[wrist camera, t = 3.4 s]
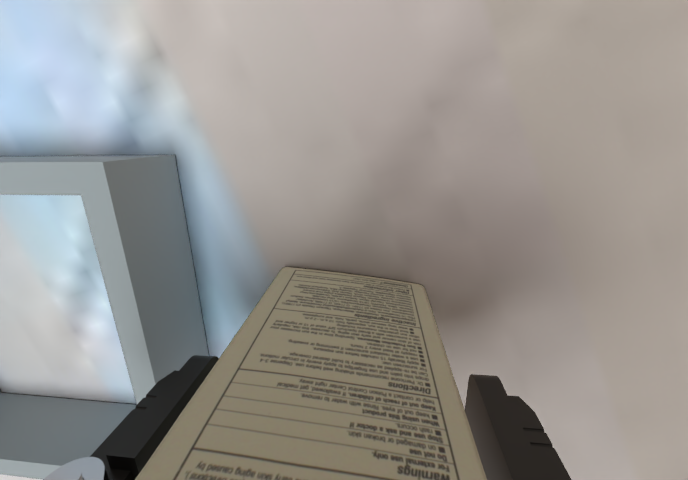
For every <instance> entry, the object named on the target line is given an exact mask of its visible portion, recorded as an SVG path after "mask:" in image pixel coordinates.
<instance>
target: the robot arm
mask: <svg viewBox="0 0 688 480" xmlns="http://www.w3.org/2000/svg"><path fill="white" fill-rule="evenodd" d="M218 360H219V359H218V357H216V356H201V355H194V356H192V357H191V358H190V359H189V360H188V361H187V362H186V363H185V364H184V365H183V367H182V368H181V369H180V370H179V371H176V370H175V371H173V372H172V373H170V374H169V375H167V376H166V377H164V378H163V379H161V380H160V381H158V382H157V383H156V384H155V386H154V387H153V388H152V389H151V390H150V391H149V392H148V393H147V394H146V397H145V398H143V399H142V400H141V401H140V402H139V403H138V404H137V405H136V408H135V409H133V410H132V411H131V412H130V413H129V414H128V415H127V416H126V417H125V418H124V420H123V421H122V422H121V423H120V424H119V425H118V426H117V427H116V428H115V429H114V431H113V432H112V433H111V434H110V435H109V436H108V437H107V438H106V439H105V440H104V441H103V443H102V444H101V445H100V446H99V447H98V448H97V449H96V450H95V451H94V452H93V454H92V455H91V456H90V457H83V458H79V459H76V460H73V461H71V462H69V463H66V464H64V465H63V466H61V467H59V468H58V469H56V470H54V471H53V472H52V473H50V474H49V475H48V476H47V477H45V478H44V479H43V480H135V479H136V477H137V476H138V474H139V473H140V472H141V470H142V469H143V468H144V466H145V465H146V463H147V462H148V460H149V459H150V458H151V456H152V455H153V453H154V452H155V450H156V449H157V447H158V446H159V445H160V443H161V442H162V440H163V439H164V437H165V436H166V434H167V433H168V432H169V430H170V429H171V427H172V426H173V424H174V423H175V421H176V420H177V418H178V417H179V415H180V414H181V412H182V411H183V410H184V408H185V407H186V405H187V404H188V402H189V401H190V400H191V398H192V397H193V395H194V394H195V392H196V391H197V390H198V388H199V387H200V385H201V384H202V383H203V381H204V380H205V378H206V377H207V375H208V374H209V372H210V371H211V370H212V368H213V367H214V365H215V364H216V362H217V361H218ZM465 413H466V416H467V419H468V422H469V425H470V428H471V432H472V435H473V438H474V441H475V444H476V447H477V450H478V454H479V457H480V460H481V463H482V466H483V469H484V472H485V475H486V478H487V480H571V478H570V476H569V475H568V473H567V471H566V469H565V467H564V465H563V463H562V462H561V460H560V458H559V456H558V454H557V452H556V451H555V449H554V448H553V447H552V443H551V441H550V440H549V438H548V436H547V434H546V433H544V429H543V427H542V425H541V423H540V421H539V419H538V418H537V416H536V414H535V412H534V411H533V410H532V409H531V408H530V407H529V406H528V405H527V404H526V403H525V402H524V401H523V400H522V399H521V398H520V397H519V396H507V394H506V391H505V389H504V387H503V385H502V383H501V381H500V379H499V378H498V377H497V376H488V375H473V374H471V375H470V377H469V382H468V390H467V397H466V405H465Z"/></svg>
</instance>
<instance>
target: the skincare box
mask: <svg viewBox="0 0 688 480" xmlns="http://www.w3.org/2000/svg"><path fill="white" fill-rule="evenodd" d="M135 480H487V478H486V475H485V472H484V469H483V466H482V463H481V460H480V457H479V454H478V450H477V447H476V444H475V441H474V438H473V435H472V432H471V428H470V425H469V422H468V419H467V416H466V413H465V410H464V407H463V404H462V401H461V398H460V395H459V392H458V389H457V386H456V383H455V380H454V377H453V374H452V371H451V368H450V365H449V361H448V358H447V355H446V352H445V349H444V346H443V343H442V340H441V337H440V334H439V330H438V327H437V324H436V321H435V318H434V315H433V312H432V309H431V306H430V303H429V300H428V297H427V294H426V291H425V288H424V287H423V286H422V285H419V284H414V283H408V282H402V281H395V280H390V279H383V278H376V277H369V276H361V275H354V274H346V273H338V272H329V271H321V270H312V269H302V268H292V267H284V268H282V269H281V270H280V272H279V273H278V275H277V276H276V278H275V279H274V280H273V282H272V283H271V285H270V286H269V287H268V289H267V290H266V292H265V293H264V295H263V296H262V298H261V299H260V301H259V302H258V304H257V305H256V306H255V308H254V309H253V311H252V312H251V313H250V315H249V316H248V318H247V319H246V321H245V322H244V323H243V325H242V327H241V328H240V329H239V331H238V332H237V333H236V335H235V336H234V338H233V339H232V341H231V342H230V344H229V345H228V346H227V348H226V349H225V351H224V352H223V354H222V355H221V357H220V358H219V360H218V361H217V362H216V364H215V365H214V367H213V368H212V370H211V371H210V372H209V374H208V375H207V377H206V378H205V380H204V381H203V383H202V384H201V385H200V387H199V388H198V390H197V391H196V392H195V394H194V395H193V397H192V398H191V400H190V401H189V402H188V404H187V405H186V407H185V408H184V410H183V411H182V412H181V414H180V415H179V417H178V418H177V420H176V421H175V423H174V424H173V426H172V427H171V429H170V430H169V432H168V433H167V434H166V436H165V437H164V439H163V440H162V442H161V443H160V445H159V446H158V447H157V449H156V450H155V452H154V453H153V455H152V456H151V458H150V459H149V460H148V462H147V463H146V465H145V466H144V468H143V469H142V470H141V472H140V473H139V474H138V476H137V477H136V479H135Z"/></svg>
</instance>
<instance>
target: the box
mask: <svg viewBox="0 0 688 480" xmlns="http://www.w3.org/2000/svg"><path fill="white" fill-rule="evenodd" d="M0 195H81V197H82V201H83V204H84V208H85V212H86V216H87V219H88V223H89V227H90V231H91V234H92V238H93V242H94V246H95V249H96V253H97V257H98V261H99V264H100V268H101V272H102V276H103V279H104V283H105V287H106V291H107V294H108V298H109V302H110V306H111V309H112V313H113V317H114V321H115V324H116V328H117V332H118V336H119V339H120V343H121V347H122V351H123V354H124V358H125V362H126V366H127V369H128V373H129V377H130V381H131V384H132V388H133V392H134V396H135V399H136V403H137V404H138V403H139V402H140V401H141V400H142V399H143V398H145V397H146V394H147V393H148V392H149V391H150V390H151V389H152V388H153V387H154V386H155V384H156V383H157V382H158V381H160V380H161V379H163V378H164V377H166V376H167V375H169V374H170V373H172V372H173V371H175V370H176V371H179V370H180V369H181V368H182V367H183V365H184V364H185V363H186V362H187V361H188V360H189V359H190V358H191V357H192V356H194V355H201V356H209V353H208V347H207V342H206V336H205V330H204V324H203V318H202V312H201V306H200V300H199V295H198V289H197V283H196V277H195V271H194V265H193V259H192V253H191V247H190V242H189V236H188V230H187V224H186V218H185V212H184V206H183V200H182V195H181V189H180V183H179V177H178V171H177V165H176V159H175V155H101V156H0ZM135 408H136V405H134V404H123V403H111V402H100V401H89V400H77V399H66V398H55V397H43V396H32V395H20V394H9V393H1V390H0V474H3V475H11V476H19V477H27V478H36V479H44V478H45V477H47V476H48V475H49V474H50V473H52V472H53V471H54V470H56V469H58V468H59V467H61V466H63V465H64V464H66V463H69V462H71V461H73V460H76V459H79V458H83V457H90V456H91V455H92V454H93V452H94V451H95V450H96V449H97V448H98V447H99V446H100V445H101V444H102V443H103V441H104V440H105V439H106V438H107V437H108V436H109V435H110V434H111V433H112V432H113V431H114V429H115V428H116V427H117V426H118V425H119V424H120V423H121V422H122V421H123V420H124V418H125V417H126V416H127V415H128V414H129V413H130V412H131V411H132V410H133V409H135Z"/></svg>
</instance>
